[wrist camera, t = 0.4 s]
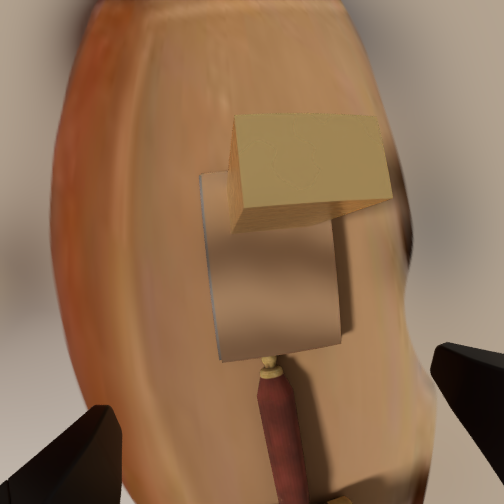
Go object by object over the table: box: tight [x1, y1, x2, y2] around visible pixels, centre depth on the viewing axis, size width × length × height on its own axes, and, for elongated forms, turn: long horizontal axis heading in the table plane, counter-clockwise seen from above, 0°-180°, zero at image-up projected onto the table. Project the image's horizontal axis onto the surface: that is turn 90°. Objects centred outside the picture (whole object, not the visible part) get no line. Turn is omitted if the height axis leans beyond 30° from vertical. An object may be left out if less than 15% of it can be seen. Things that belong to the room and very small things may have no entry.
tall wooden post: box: [226, 113, 393, 234], centre depth 14 cm, size 3×5×10 cm
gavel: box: [257, 356, 353, 504], centre depth 19 cm, size 21×5×10 cm
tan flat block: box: [199, 171, 341, 362], centre depth 20 cm, size 12×8×2 cm
